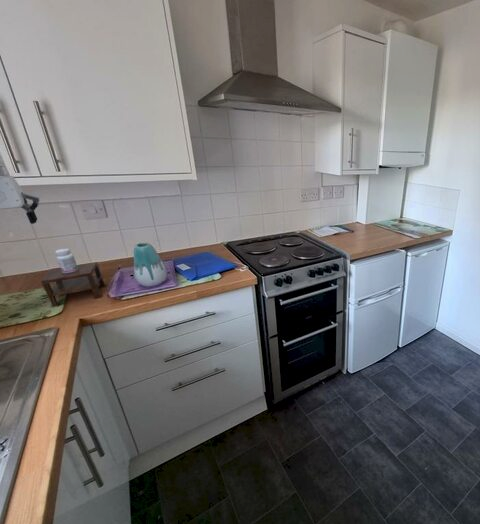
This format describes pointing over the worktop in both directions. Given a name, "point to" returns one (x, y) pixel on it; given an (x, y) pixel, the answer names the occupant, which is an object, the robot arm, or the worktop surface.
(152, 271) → the vase
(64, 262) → the pill bottle
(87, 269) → the shelf
